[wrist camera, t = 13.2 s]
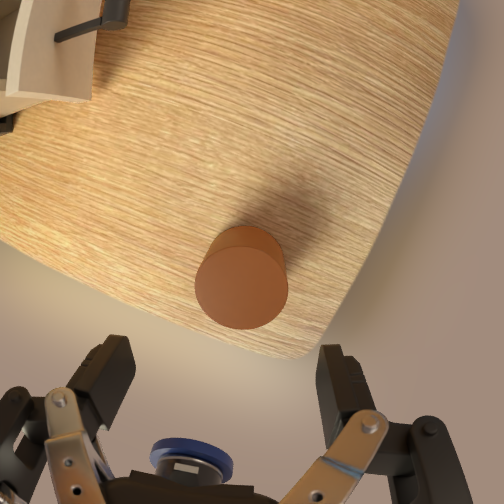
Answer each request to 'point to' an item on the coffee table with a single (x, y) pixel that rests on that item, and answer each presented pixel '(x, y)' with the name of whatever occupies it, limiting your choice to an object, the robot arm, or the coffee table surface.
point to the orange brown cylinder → (242, 279)
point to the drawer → (51, 49)
